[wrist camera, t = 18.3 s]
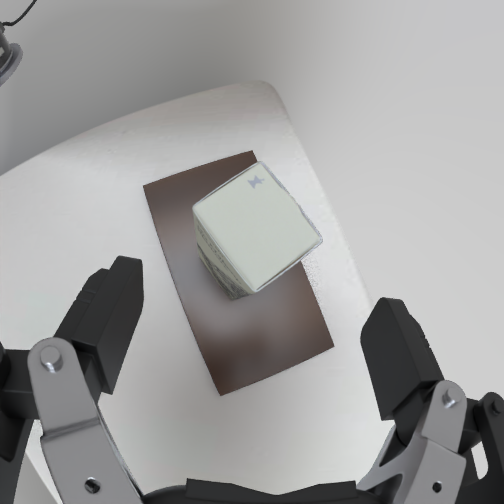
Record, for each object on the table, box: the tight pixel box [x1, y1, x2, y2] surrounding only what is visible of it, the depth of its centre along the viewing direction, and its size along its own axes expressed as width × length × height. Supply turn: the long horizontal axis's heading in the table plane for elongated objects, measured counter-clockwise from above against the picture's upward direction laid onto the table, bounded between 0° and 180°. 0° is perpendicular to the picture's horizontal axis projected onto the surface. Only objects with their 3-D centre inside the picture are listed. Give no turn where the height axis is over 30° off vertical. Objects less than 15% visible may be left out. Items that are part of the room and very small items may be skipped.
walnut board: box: [143, 151, 334, 396], centre depth 27 cm, size 20×11×1 cm, turn 22°
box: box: [192, 161, 323, 300], centre depth 20 cm, size 5×4×13 cm
